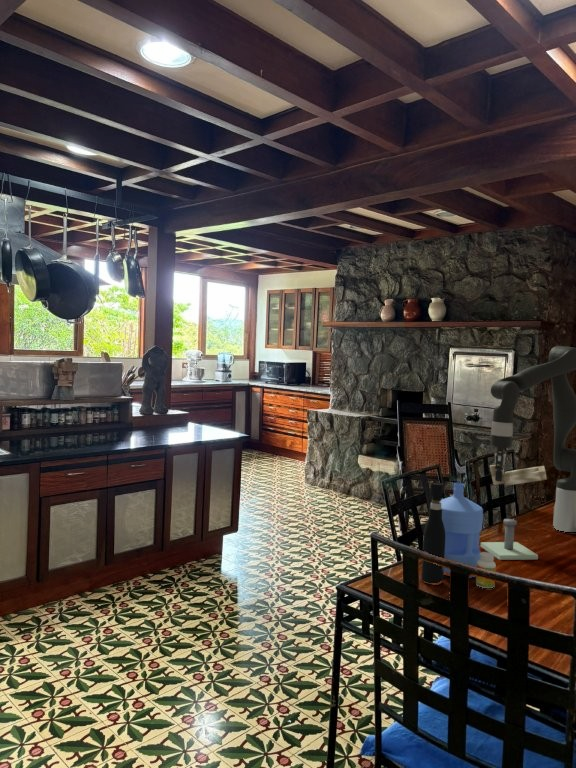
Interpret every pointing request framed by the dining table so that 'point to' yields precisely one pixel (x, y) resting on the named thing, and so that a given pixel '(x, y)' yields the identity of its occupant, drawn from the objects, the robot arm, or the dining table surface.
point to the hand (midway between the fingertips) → (498, 479)
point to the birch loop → (519, 475)
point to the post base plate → (509, 546)
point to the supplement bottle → (487, 564)
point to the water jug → (461, 527)
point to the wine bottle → (434, 536)
